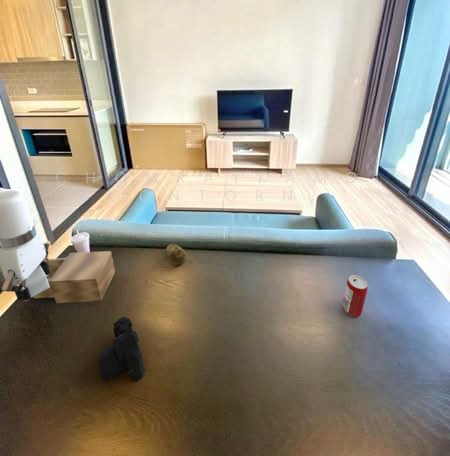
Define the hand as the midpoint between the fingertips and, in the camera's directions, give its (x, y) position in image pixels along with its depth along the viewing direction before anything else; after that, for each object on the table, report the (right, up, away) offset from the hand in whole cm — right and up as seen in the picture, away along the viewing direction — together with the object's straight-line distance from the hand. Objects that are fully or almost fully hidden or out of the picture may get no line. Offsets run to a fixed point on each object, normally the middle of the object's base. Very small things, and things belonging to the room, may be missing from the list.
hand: (35, 285), depth 71 cm
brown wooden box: (+6, -9, +17) cm, 20 cm away
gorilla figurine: (+27, -17, -6) cm, 33 cm away
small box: (0, -1, 0) cm, 1 cm away
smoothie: (-3, -4, +30) cm, 31 cm away
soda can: (+95, -12, +8) cm, 96 cm away
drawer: (-7, -8, +16) cm, 19 cm away
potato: (+35, -5, +27) cm, 45 cm away
